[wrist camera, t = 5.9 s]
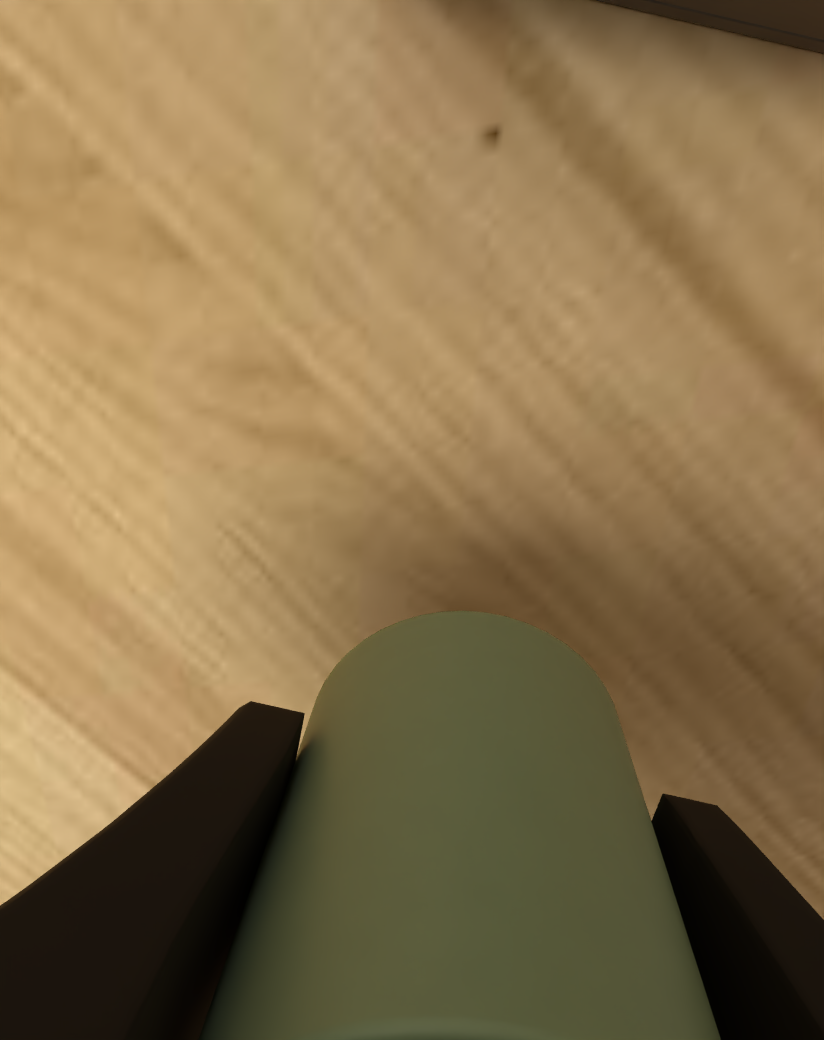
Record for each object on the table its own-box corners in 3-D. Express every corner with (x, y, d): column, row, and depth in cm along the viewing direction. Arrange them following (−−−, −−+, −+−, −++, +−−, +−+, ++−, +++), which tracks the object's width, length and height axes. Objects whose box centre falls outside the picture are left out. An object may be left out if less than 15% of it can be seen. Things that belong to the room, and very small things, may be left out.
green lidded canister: (666, 654, 9) (997, 1327, 3) (564, 899, 10) (677, 1666, 5) (345, 572, 9) (129, 1113, 3) (285, 828, 10) (60, 1520, 5)
